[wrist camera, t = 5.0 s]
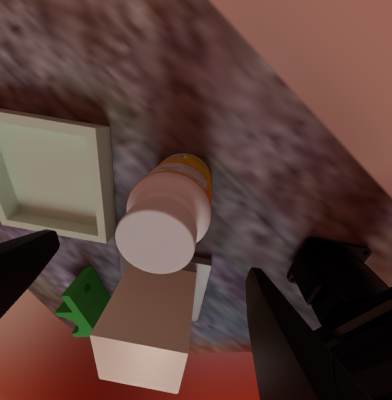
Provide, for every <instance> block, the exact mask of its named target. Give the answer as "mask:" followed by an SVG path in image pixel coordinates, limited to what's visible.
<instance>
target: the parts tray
mask: <svg viewBox="0 0 392 400" xmlns="http://www.w3.org/2000/svg"><path fill="white" fill-rule="evenodd" d="M0 221H1V223H2V225H7V226H12V227H18V228H23V229H29V230H34V231H41V230H44V229H49V230H54V231H56V232H57V235H62V236H67V237H73V238H78V239H84V240H89V241H95V242H100V243H106V244H107V243H108V241H109V240H110V239H111V238H112V237H113V235H114V234H115V232H116V228H117V227H116V211H115V195H114V179H113V164H112V148H111V132H110V127H109V126H103V125H97V124H91V123H86V122H80V121H74V120H68V119H62V118H56V117H50V116H44V115H38V114H32V113H26V112H20V111H15V110H9V109H3V108H0Z"/></svg>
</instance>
